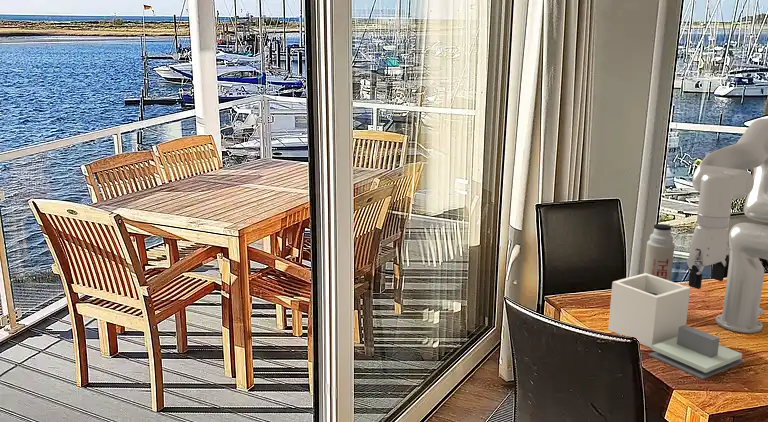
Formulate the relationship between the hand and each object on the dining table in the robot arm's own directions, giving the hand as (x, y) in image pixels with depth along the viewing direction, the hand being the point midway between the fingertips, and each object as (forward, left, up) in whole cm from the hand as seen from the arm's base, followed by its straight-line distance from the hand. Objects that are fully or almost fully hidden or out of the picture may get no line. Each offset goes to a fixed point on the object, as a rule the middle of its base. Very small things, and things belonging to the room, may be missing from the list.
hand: (705, 283), depth 180 cm
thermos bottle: (-19, -28, -22) cm, 40 cm away
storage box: (-2, -18, -21) cm, 28 cm away
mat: (+1, 0, -21) cm, 21 cm away
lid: (+1, 0, -20) cm, 20 cm away
